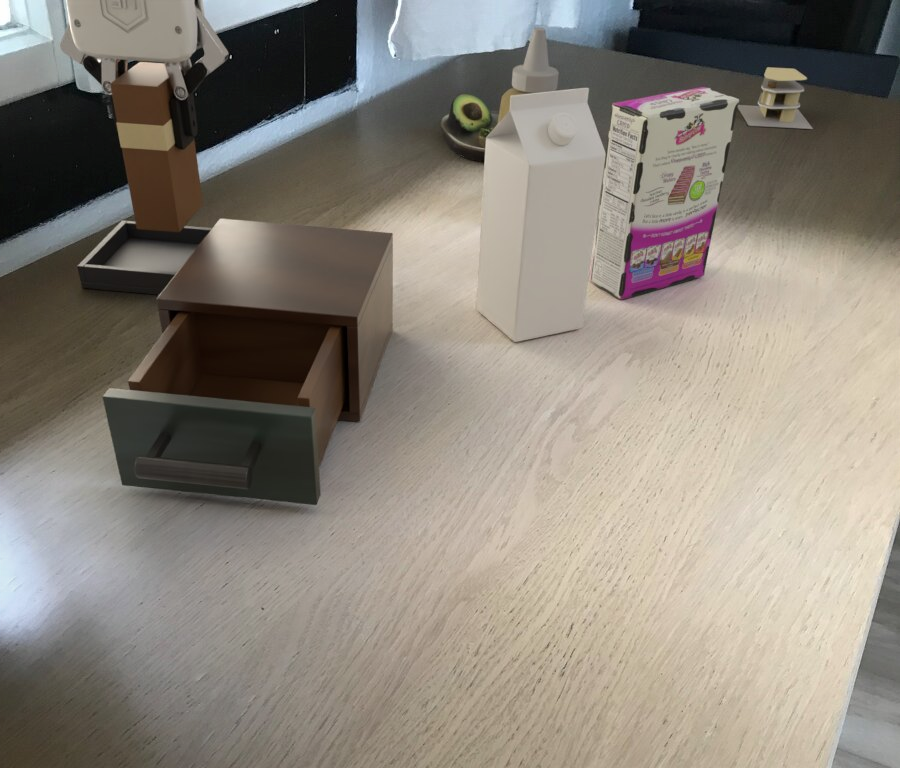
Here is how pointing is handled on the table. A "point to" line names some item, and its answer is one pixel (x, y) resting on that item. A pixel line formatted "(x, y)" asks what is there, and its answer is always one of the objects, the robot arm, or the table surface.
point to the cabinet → (296, 286)
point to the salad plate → (468, 126)
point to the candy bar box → (661, 189)
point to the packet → (154, 151)
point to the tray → (138, 258)
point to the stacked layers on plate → (778, 101)
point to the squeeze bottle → (531, 72)
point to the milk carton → (539, 214)
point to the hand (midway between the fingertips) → (158, 140)
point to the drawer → (232, 407)
